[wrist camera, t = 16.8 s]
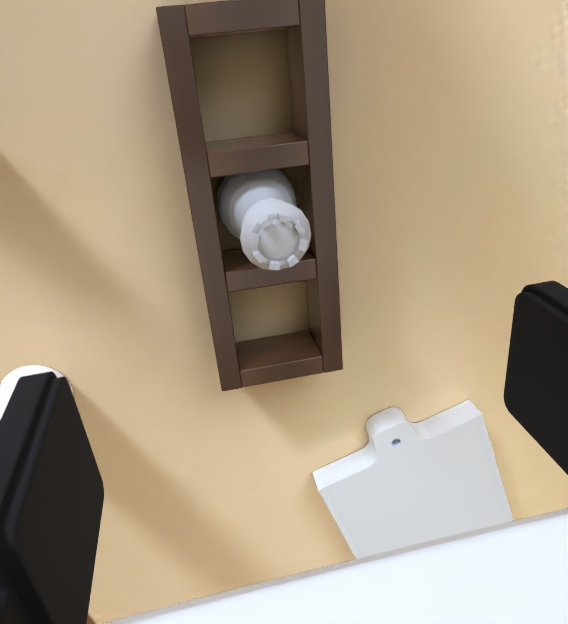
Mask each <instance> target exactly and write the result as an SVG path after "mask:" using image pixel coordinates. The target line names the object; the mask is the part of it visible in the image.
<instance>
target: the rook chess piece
mask: <svg viewBox="0 0 568 624" xmlns="http://www.w3.org/2000/svg"><path fill="white" fill-rule="evenodd" d="M216 205H217V209H218V213H219V216H220V219H221V221H222V222H223V224H224V225H225V227H226V228H227V229H228V230H229V232H230V233H231V234H232V235H233V236H235V237H237V238H239V239H240V241H241V245H242V249H243V252H244V254H245V255H246V256H247V257H248V259H249V260H250V261H251V263H253V264H255V265H257V266H259V267H260V268H262V269H267V270H276V271H277V270H280V269H284V268H288V267H292V266H293V265H295V264H296V263H298V262H299V260H300V259H301V258H302V257H303V255H304V254H305V252H306V251H307V249H308V247H309V242H310V238H311V231H310V225H309V221H308V220H307V218H306V217H305V215H304V214H303V212H302V211H301V210H300V209H298V208H297V207H296V206H297V202H296V197H295V192H294V189H293V187H292V185H291V183H290V182H289V180H288V179H287V177H286V176H285V174H284V173H283V172H282V171H280V170H279V169H274V170H267V171H259V172H251V173H244V174H236V175H228V176H226V177H225V179H224V180H223V182H222V184H221V185H220V187H219V189H218V196H217V203H216Z"/></svg>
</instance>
